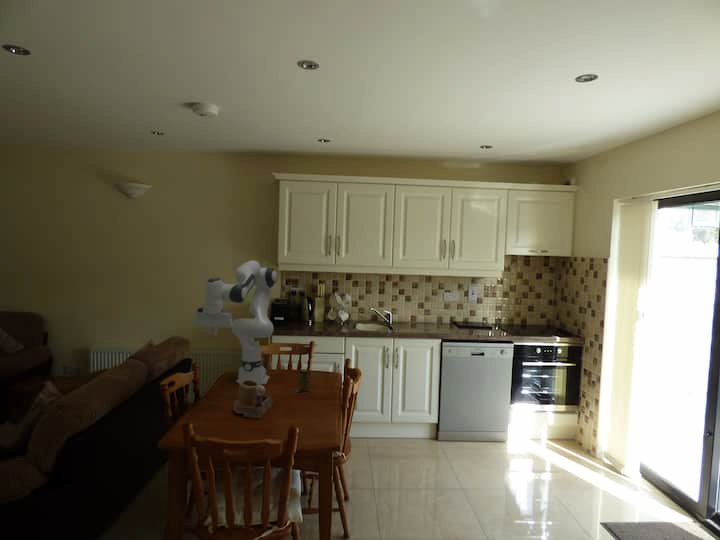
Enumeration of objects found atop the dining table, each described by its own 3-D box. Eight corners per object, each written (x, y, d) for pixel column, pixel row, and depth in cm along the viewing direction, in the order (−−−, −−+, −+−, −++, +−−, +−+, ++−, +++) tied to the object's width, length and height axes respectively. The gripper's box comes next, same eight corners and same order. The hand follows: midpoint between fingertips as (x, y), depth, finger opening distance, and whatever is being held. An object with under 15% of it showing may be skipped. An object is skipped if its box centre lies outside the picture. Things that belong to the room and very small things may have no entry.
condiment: (305, 388, 264) (306, 368, 263) (313, 392, 257) (313, 371, 257) (294, 390, 259) (295, 370, 259) (302, 394, 253) (303, 373, 252)
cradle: (257, 404, 234) (258, 375, 234) (274, 405, 233) (275, 376, 232) (243, 417, 215) (244, 386, 215) (262, 418, 214) (262, 387, 214)
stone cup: (258, 415, 219) (258, 384, 219) (233, 416, 217) (233, 385, 216) (257, 404, 234) (258, 376, 233) (234, 405, 231) (235, 376, 231)
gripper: (235, 309, 237) (234, 335, 237) (198, 307, 240) (198, 333, 240) (230, 310, 231) (229, 337, 231) (192, 308, 233) (192, 335, 234)
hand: (213, 335), depth 236 cm, fingers closed
